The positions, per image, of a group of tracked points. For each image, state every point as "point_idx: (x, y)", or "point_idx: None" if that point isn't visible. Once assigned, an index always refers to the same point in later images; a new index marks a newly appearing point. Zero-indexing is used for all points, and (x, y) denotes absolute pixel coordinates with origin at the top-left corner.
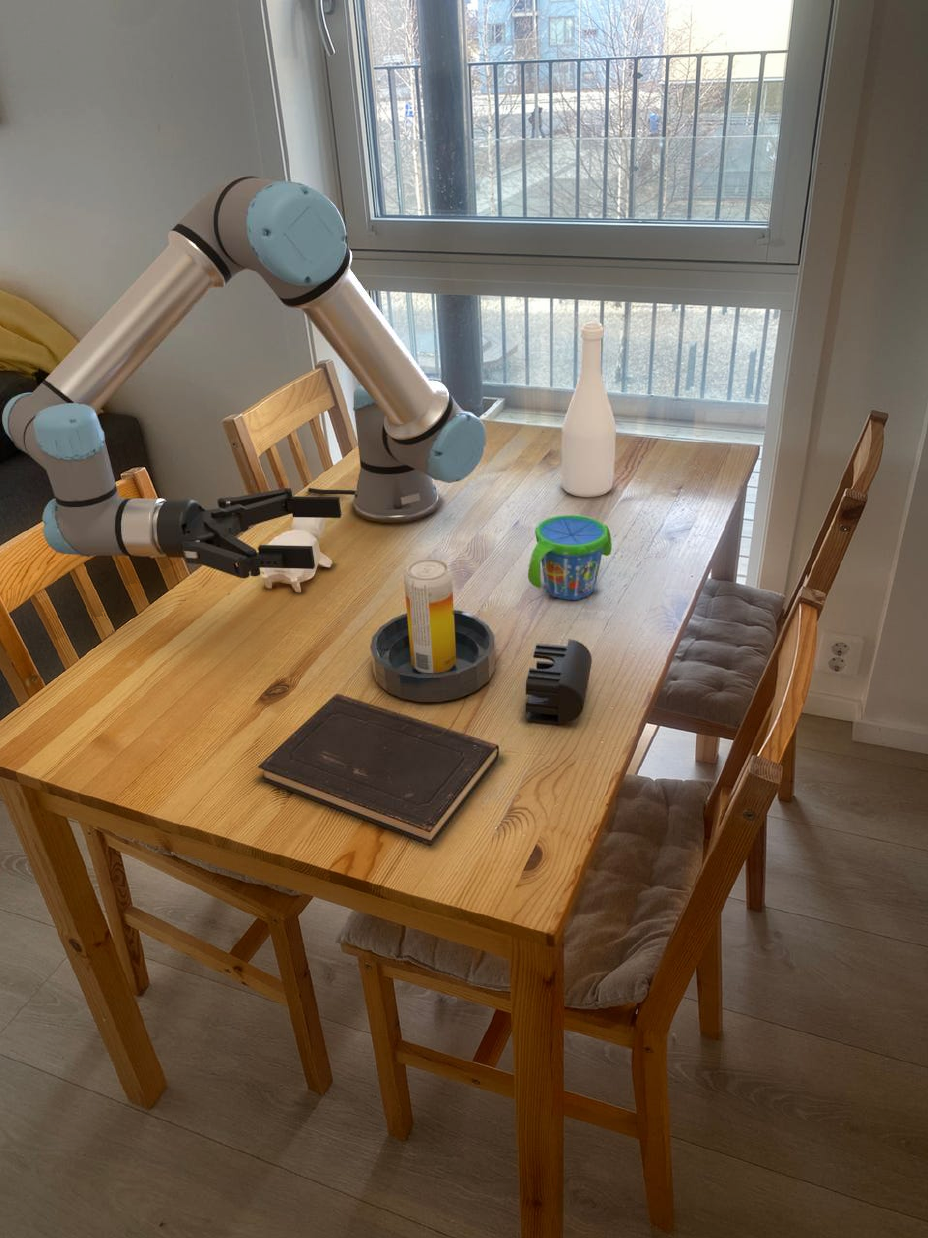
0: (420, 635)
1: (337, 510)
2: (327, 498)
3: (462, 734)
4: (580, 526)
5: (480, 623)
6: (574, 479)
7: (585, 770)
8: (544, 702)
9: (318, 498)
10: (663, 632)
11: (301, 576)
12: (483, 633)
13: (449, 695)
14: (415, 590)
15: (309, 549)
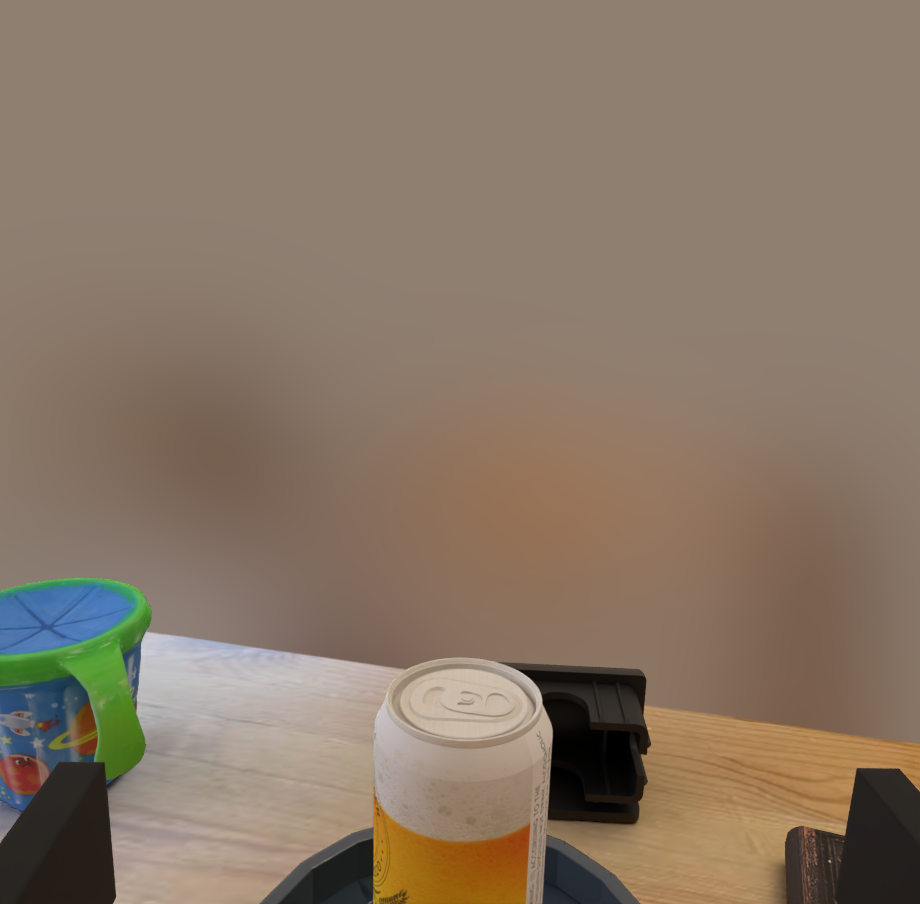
0: None
1: (104, 855)
2: (48, 823)
3: (807, 888)
4: (17, 611)
5: (342, 850)
6: None
7: (738, 745)
8: (606, 766)
9: (12, 883)
10: (292, 662)
11: None
12: (355, 868)
13: None
14: (549, 759)
15: (902, 776)
